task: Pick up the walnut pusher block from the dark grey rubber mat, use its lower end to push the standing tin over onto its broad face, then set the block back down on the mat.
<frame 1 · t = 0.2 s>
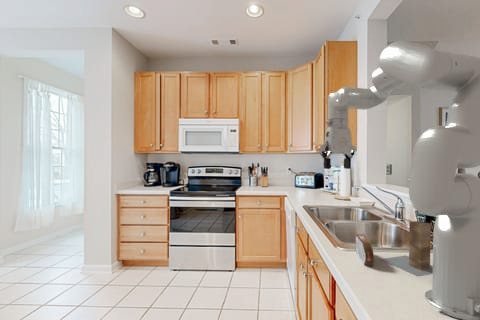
hand: (337, 168, 107), 31 cm above the counter, tool pointing down, fingers open, 9 cm apart
mat: (411, 267, 89), on the counter
pusher block: (419, 266, 87), point 1 cm above the counter, touching mat
tin: (363, 262, 94), on the counter
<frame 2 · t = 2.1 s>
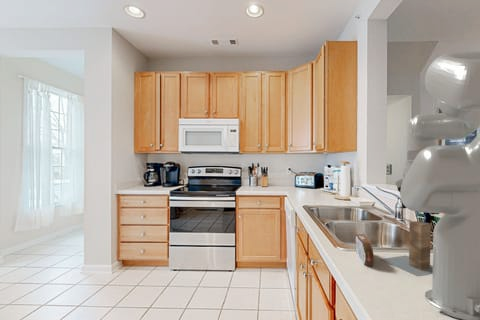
hand: (419, 210, 87), 19 cm above the counter, tool pointing down, fingers open, 9 cm apart
nothing on the counter moved.
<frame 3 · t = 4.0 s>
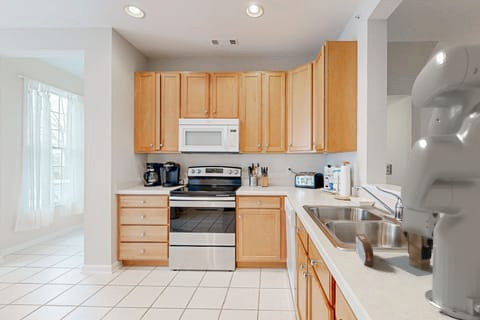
hand: (419, 255, 87), 4 cm above the counter, tool pointing down, fingers closed on pusher block, 4 cm apart
pusher block: (419, 266, 87), point 1 cm above the counter, touching gripper, mat
everything else where it was.
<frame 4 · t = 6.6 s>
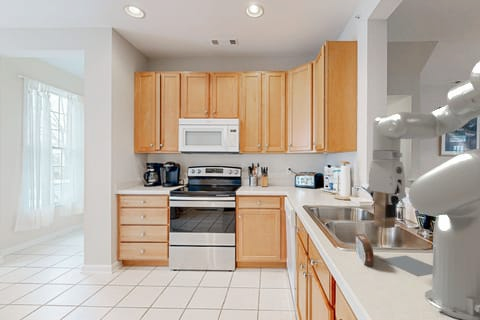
hand: (384, 215, 85), 17 cm above the counter, tool pointing down, fingers closed on pusher block, 4 cm apart
pusher block: (384, 226, 85), point 14 cm above the counter, touching gripper
everything else where it was.
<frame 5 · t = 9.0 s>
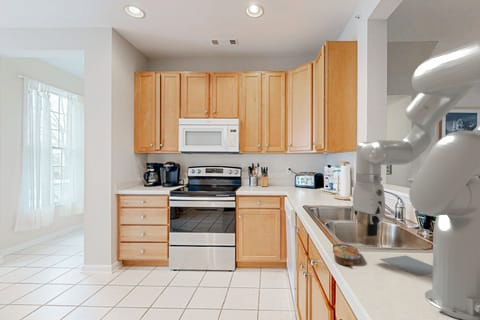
hand: (366, 233, 92), 10 cm above the counter, tool pointing down, fingers closed on pusher block, 4 cm apart
pusher block: (365, 243, 92), point 7 cm above the counter, touching gripper
tin: (359, 256, 95), point 1 cm above the counter
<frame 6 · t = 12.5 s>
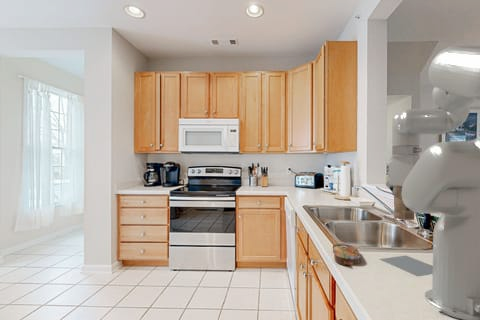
hand: (404, 208, 89), 19 cm above the counter, tool pointing down, fingers closed on pusher block, 4 cm apart
pusher block: (403, 218, 89), point 16 cm above the counter, touching gripper
everything else where it was.
when the fingers open (7 cm above the counter, at t = 15.3 s): pusher block drops 2 cm, resting on mat.
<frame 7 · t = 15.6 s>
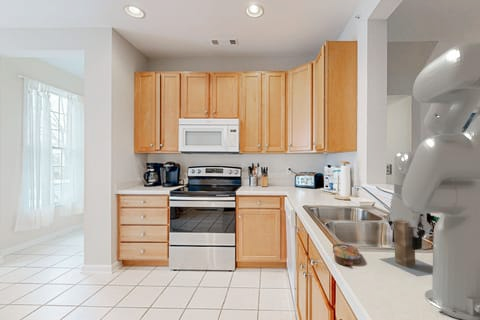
hand: (406, 245, 89), 7 cm above the counter, tool pointing down, fingers open, 6 cm apart
pusher block: (405, 263, 89), point 1 cm above the counter, touching mat
everything else where it was.
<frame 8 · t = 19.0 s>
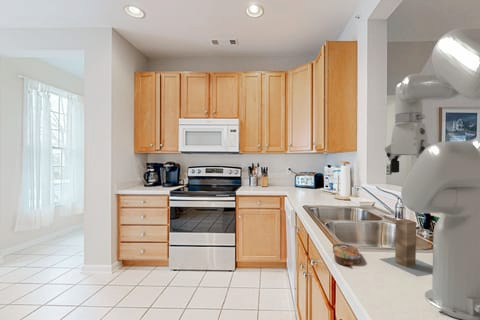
hand: (407, 173, 89), 30 cm above the counter, tool pointing down, fingers open, 9 cm apart
at the end: tin tilted 86°; pusher block inside the target area on the mat (1.7 cm from its centre), point 0.8 cm above the mat's base; the gripper is holding nothing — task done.
